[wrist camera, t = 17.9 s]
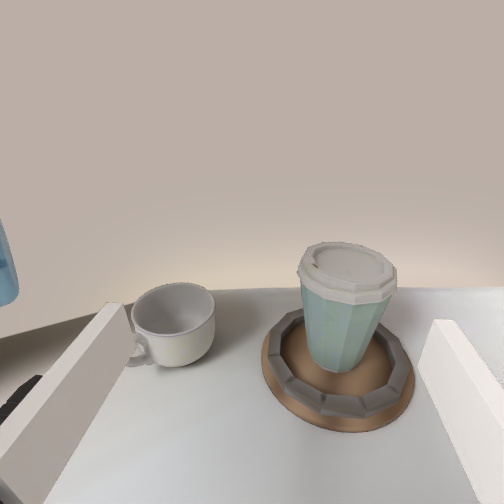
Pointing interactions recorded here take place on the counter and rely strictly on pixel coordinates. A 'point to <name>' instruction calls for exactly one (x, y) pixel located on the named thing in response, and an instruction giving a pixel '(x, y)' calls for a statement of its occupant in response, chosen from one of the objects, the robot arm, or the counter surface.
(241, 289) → the counter surface
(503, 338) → the counter surface
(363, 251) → the disposable coffee cup
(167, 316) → the teacup
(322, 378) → the ring board
